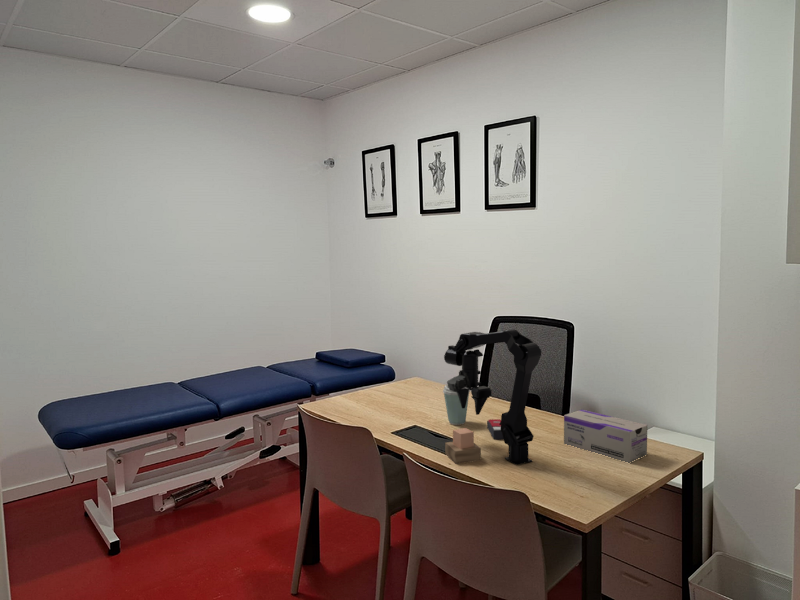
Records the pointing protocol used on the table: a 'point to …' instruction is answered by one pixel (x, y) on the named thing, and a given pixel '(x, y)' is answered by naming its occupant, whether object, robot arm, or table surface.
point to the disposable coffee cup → (454, 407)
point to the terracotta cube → (463, 438)
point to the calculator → (495, 429)
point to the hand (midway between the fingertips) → (470, 411)
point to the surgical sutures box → (606, 435)
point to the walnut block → (462, 453)
